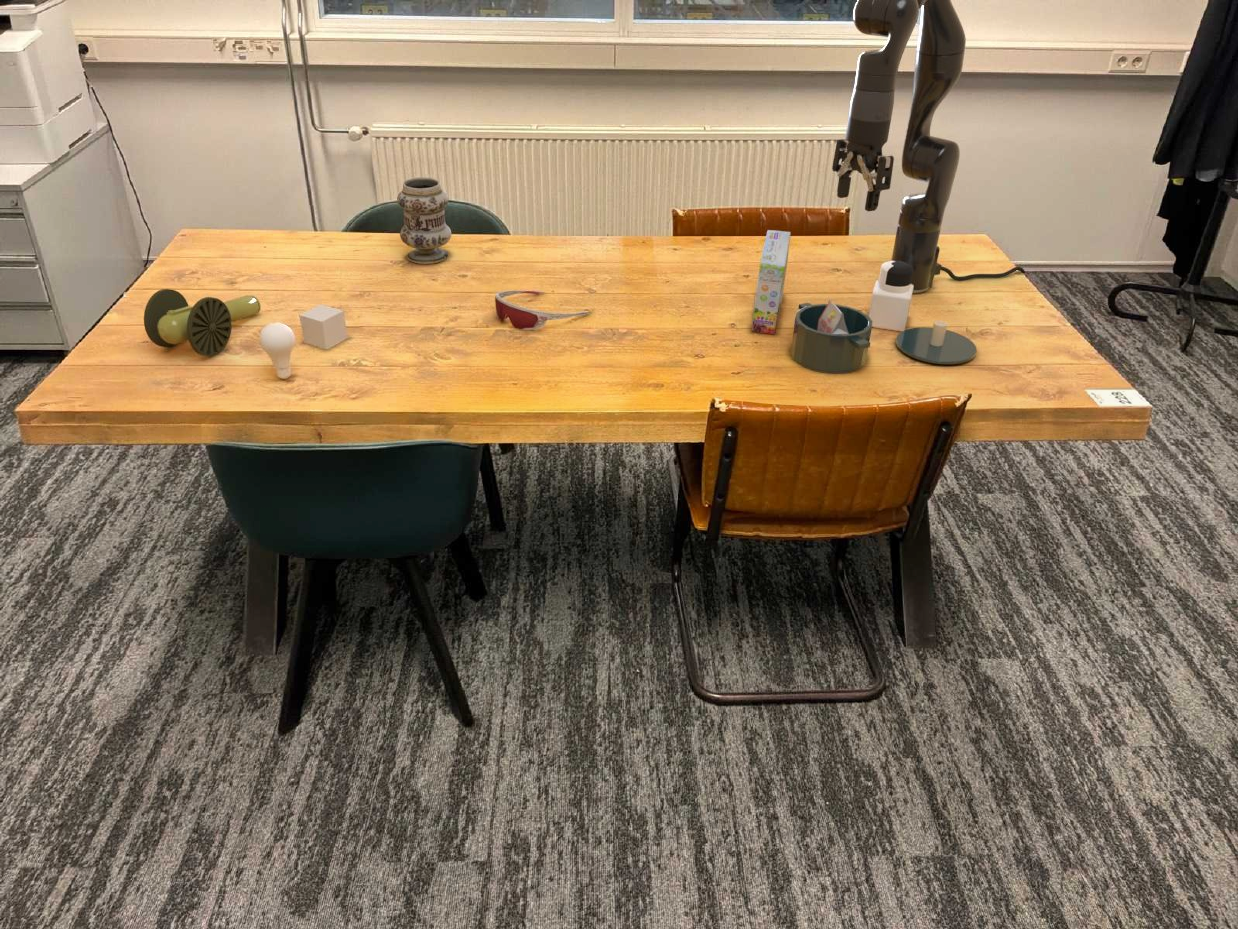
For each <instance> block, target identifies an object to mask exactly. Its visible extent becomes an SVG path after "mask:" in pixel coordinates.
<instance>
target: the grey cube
mask: <svg viewBox="0 0 1238 929" xmlns="http://www.w3.org/2000/svg"><path fill="white" fill-rule="evenodd" d="M298 317H299V322H300V328H301V333H302V338H303V342H304V344H306V345H307V344H308V345H310V346H314V347H316V348H321V349H323V350H329V349H331V348H333V347H334V346H336V345H338V344H340V343H342V342H344V341H345V340H347V339H349V337H348V330H347V324H346V323H347V322H346V316H345V311H344V310H343V309H339V308H336V307H332V306H329V305H324V304H318V305H317V306H315V307H313V308H311V309H309V310H306V311H304V312H303V313H300V314H298Z"/></svg>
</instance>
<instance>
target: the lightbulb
mask: <svg viewBox="0 0 1238 929" xmlns="http://www.w3.org/2000/svg"><path fill="white" fill-rule="evenodd" d="M258 340H259V345H260V347H261V349H262V351H264V352H265V354H266V355H267V356H268V358H270V360H271V362H272V366H273V367H274V369H275V373H276V376H277V377H278V378H279V379H283V380H287V379H288V378H289V377H291V375H292V367H291V365H292V360H291V358H292V352H293V350H294V347H295V343H296V336H295V334H294V332H293V330H292V329H291V327H289V326H288V325H286V324H284V323H282V322H271V323H268V324H266V325H265V326H264V327H263V328H262V329H261V331H260V333H259V337H258Z"/></svg>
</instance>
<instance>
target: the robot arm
mask: <svg viewBox="0 0 1238 929" xmlns="http://www.w3.org/2000/svg"><path fill="white" fill-rule="evenodd" d="M919 16H920V21H919V28H918V37H917V41H916V42H917V43H916V50H915V51H916V52H915V59H914V62H915V63H914V70H913V71H914V74H913V85H912V94H911V95H912V96H911V101H910V110H909V116H908V121H907V126H906V130H905V137H904V142H903V148H902V154H901V170H902V174H903V175H904V176H905V177H907V178H909V179H913V180H916V181H919V182H924V183H927V187H926V190H925V192H917V193H912V194H908V195H906V196H905V197H903V199H902V201H901V206H900V210H899V216H898V222H897V228H896V233H895V238H894V243H893V249H892V254H891V259H890V261H902V262H905V263H907V264H909V265H911V266H912V267H913V269H914V271H913V276H912V281H911V285H913V286H914V287H913V292H912V294H921V293H925V292H927V291H928V290H929V289H930V288H932V287H933V283H934V278H935V276H938V275H939V276H940V275H941V271H942V272H945V273H946V274H947V275H948V276H949V277H950V279H952V280H954V281H959V282H960V281H961V282H962V281H968V280H971V279H972V280H973V279H999V278H1005V277H1007V276H1010V275H1011V274H1013V273H1015V272H1017V271H1016V270H1018V272H1019V273H1021V274H1026V271H1025V269H1024V268H1023V267H1022V266H1014V267H1013V268H1011V269H1009V270H1007V271H1005V272H1001V273H973V274H969V275H968V274H967V275H964V276H958V275H955V274H954V272H952V270H951V269H949V268H947V267H946V266H943V265H942V264H941V263H938V259H939V255H940V250H941V248H940V247H939V246H938V243H939V239H940V234H941V229H942V224H943V220H944V215H945V211H946V208H947V205H948V202H949V200H950V196H951V194H952V189H953V186H954V181H955V178H956V174H957V171H958V167H959V161H960V157H961V156H960V155H961V154H960V146H959V145H958V143H957V142H956V141H954V140H951V139H946V138H942V137H938V136H933V135H931V127H932V123H933V118H934V115H935V112H936V111H937V109H938V107H939V106H940V105H941V103H942V102H943V101H944V99H945V98H946V97H947V96H948V94H950V92H951V91H952V90H953V88H954V87H955V85H956V84H957V83H958V81H959V79H960V77H961V75H962V71H963V65H964V59H965V58H964V57H965V50H966V43H967V41H966V40H967V38H966V33H965V30H964V27H963V24H962V22H961V20H960V17H959V16H958V13H957V11H956V9H955V7H954V4H953V3H952V0H857V2H856V3H855V5H854V8H853V15H852V17H853V24H854V26H855V28H856V30H857V31H858V32H859V33H861V34H864V35H866V36H875V37H881V38H883V37H884V38H888V39H887V42H886V44H885V46H884V47H883V48H881V49H870V50H866V51H864V52H862V53H861V54H860V55H859V57H858V60H857V64H856V65H857V66H856V72H855V73H856V74H855V79H854V87H853V91H852V95H851V98H850V103H849V111H848V117H847V124H846V131H845V138H841V139H837V140H836V143H835V149H834V155H833V159H832V160H833V161H832V167H831V170H832V172H836V176H837V177H838V181H837V189H836V192H837V194H836V196H837V198H840V199H844V198H848V197H849V195H850V188H851V183H852V177H850V176H852V175H853V173H854V172H856V171H857V172H858V173H859V174H861V175H862V179H863V180H864V181H865V182H866V185H867V189H868V190H867V192H866V199H865V205H864V210H865V211H866V212H874V211H876V210H877V209H878V207H879V202H880V196H881V192H882V191H886V190H890V188H891V184H892V177H893V169H894V161H895V157H894V156H893V155H884V154H883V147H884V145H885V144H886V143H888V140H889V133H890V127H891V122H892V117H893V111H894V105H895V90H896V83H897V79H898V74H899V73H898V72H899V67H900V64H901V61H902V58H903V55H904V52H905V50H906V46H907V44H908V42H909V40H910V38H911V36H912V33H913V32H914V29H915V27H916V25H917V22H918V18H919ZM840 160H841V161H840ZM883 179H884V181H883Z"/></svg>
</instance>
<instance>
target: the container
mask: <svg viewBox="0 0 1238 929" xmlns="http://www.w3.org/2000/svg"><path fill="white" fill-rule="evenodd" d="M913 271H914V269H913V267H912V266H911V265H909V264H907V263H905V262H902V261H891V260H889V261H885V262H883V263H882V264H881V266H880V270H879V275H878V279H876V281H875V283H874V287H873V290H872V294H871V300H870V305H869V311H868V316H869V317H870V319H871V320H872V328H874V329H881V330H888V331H895V332H899V333H901V332H902V331H904V330H906V327H907V322H908V317H909V312H910V306H911V302H912V298H913V293H912V292H913V287H914V286H913V285H911V281H912V276H913Z"/></svg>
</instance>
